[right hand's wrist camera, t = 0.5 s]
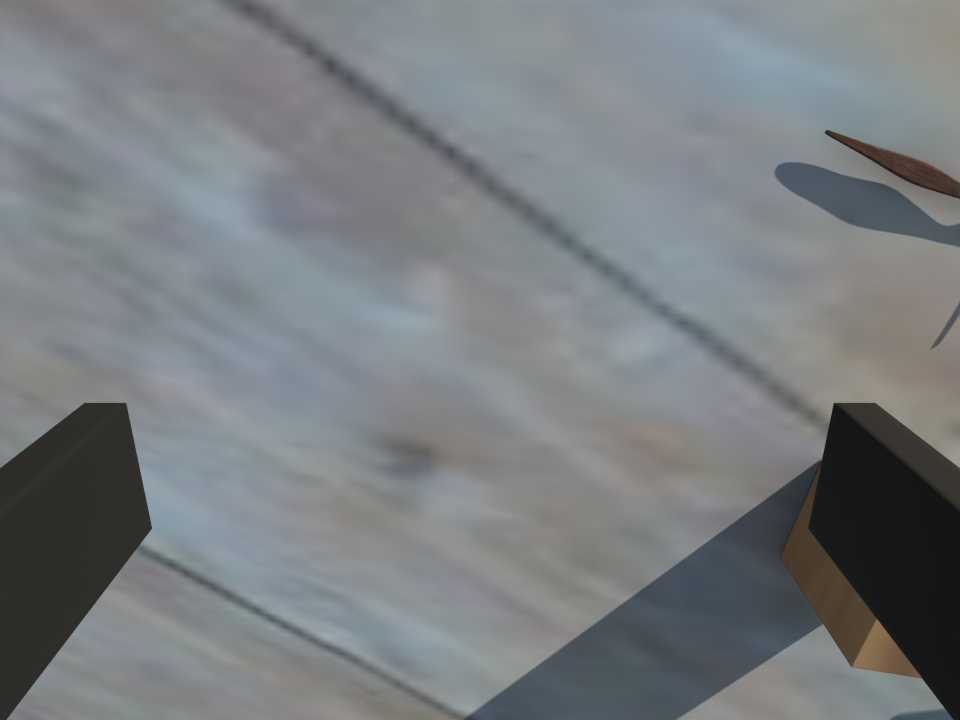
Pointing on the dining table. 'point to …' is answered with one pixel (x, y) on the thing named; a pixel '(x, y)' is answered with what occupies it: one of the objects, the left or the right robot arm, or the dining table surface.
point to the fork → (904, 166)
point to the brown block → (840, 601)
